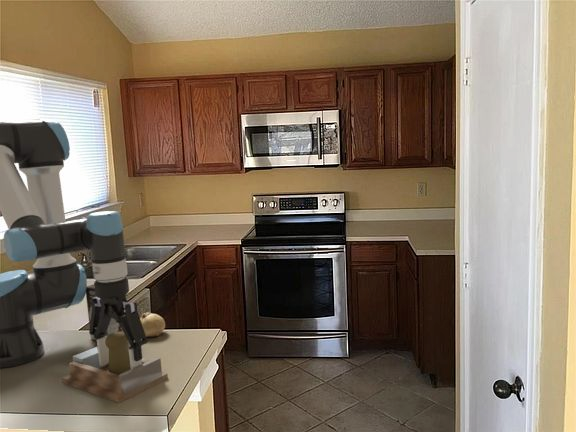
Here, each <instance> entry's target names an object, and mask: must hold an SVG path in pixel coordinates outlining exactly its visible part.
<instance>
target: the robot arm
mask: <svg viewBox="0 0 576 432" xmlns="http://www.w3.org/2000/svg"><path fill="white" fill-rule="evenodd" d="M70 147H71V146H70V142H69V138H68V135H67V133H66V131H65V129H64V127H63V126H62V124H61V123H60V122H58V121H57V120H54V119H43V118H39V119H38V118H37V119H36V118H35V119H20V120H19V119H17V120H16V119H14V120H12V119H11V120H9V119H8V120H7V119H5V120H3V119H1V120H0V214H1V216H2V219H4V221H5V224H6V227H7V230H5V232H4V235H3V245H4V249H5V253H6V256H7V258H8V259H9V261H12V262H15V263H18V262H26V261H34V260H36V261H35V262H34V263H33V264H32V271H33V272H32V273H28V272H27V271H26V270H25V269H16V270H9V271H6V272H2V273H0V369H1V368H2V367H4V368H10V367H16V366H19V365H22V364H26V363H29V362H32V361H34V360H36V359H38V358H39V357H40V358H41V356H42V355H43V354H44V353H45V347H44V342H43V341H42V339H41V337H40V335H39V333H38V331H37V329H36V327H35V324H34V316H36V315H40V314H44V313H48V312H52V311H58V310H62V309H68V308H70V307H72V306H75V305H79V304H81V302H83V301H84V298H86V297H85V296H86V288H87V285H88V284H87V283H88V282H87V280H88V279H87V274H86V271H85V268H84V267H83V266H82V264H78V263H77V259H76V258H75V257H73V256H72V255H71V253H77V252H83V251H88V250H89V251H90V261H91V265H92V273H93V274H92V275H93V279H94V280H95V281H94V282H93V284H94V287H95V295H96V297H95V298H92V299H91V301H92V313H91V321H90V326H89V329H88V330H89V332H88V333H89V335H90V336H91V335H94V337H95V339H96V340H95V341H96V347H97V349H98V355H99V363H100V366H103V365H105V364H108V363H109V349H108V348H107V346H106V344H105V340H106V337H107V336H105V335H108V334H107V329H108V326H109V324H110V321H111V318H113V319H115V320H116V322H117V323H119V324H120V326H121V328H122V330H123V332H124V334H125V336H126V338H127V340H128V344H129V345H130V346H129V347H128V352H129V358H130V367H131V369H133V368H135V367H137V366H139V365H142V358H143V352H142V351H143V349H142V346H144V345H147V344H148V339H147V337H146V335H145V332H144V329H143V326H142V323H141V320H140V318H141V317H140V314H139V312H138V304H137V302H136V301H133V302H129V301H128V300H127V294H129V291H130V285H129V278H128V277H127V275H128V274H129V273H128V265H127V257H126V251H125V240H124V239H125V238H124V231H123V230H124V225H123V222H122V217H121V216H122V215H121V213H119V212H118V211H117V210H116V211H115V210H111V211H110V210H107V211H104V210H103V211H97V212H96V211H95V212H92V213H89V214H88V215H87V216H84V217H77V218H74V219H73V220H67V221H66V215H65V207H64V202H63V201H64V200H63V194H62V193H63V192H62V185H61V184H62V183H61V176H60V171H61V170H62V169H63V168H64V167H65V164H64V163H65V161H66V160H67V159H69V158H70V153H71V152H70V151H71V150H70ZM16 164H18V169H17V166H16ZM19 172H21V173H23V175H24V174H25V175H24V176H25V177H26V184H27V185H26V184H25V182H24V179H23V177H22V176H21V174H20V173H19ZM95 327H96V328H95ZM94 328H95V329H94ZM104 336H105V337H104Z"/></svg>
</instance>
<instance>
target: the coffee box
mask: <svg viewBox="0 0 576 432" xmlns="http://www.w3.org/2000/svg"><path fill="white" fill-rule="evenodd" d="M85 296H86V297H85V298H86V305H87V316H88V324H89V327H90V321H91V313H92V301H91V299H92V298H95V297H96V295H95V287H94V283H93V284H90V285H88V286H87V288H86V294H85ZM95 328H96V327H95ZM95 328H94V329H95ZM114 332H123V330H122V328H121V326H120V324H119V323H117V322H116V320H115V319H113V318H111V321H110V324H109V326H108V329H107V334H108V335H109V334H111V333H114ZM108 335H105V336H108ZM105 336H104V337H105ZM90 340H95V341H96V339H95V337H94V335H90Z"/></svg>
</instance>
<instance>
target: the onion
mask: <svg viewBox="0 0 576 432" xmlns="http://www.w3.org/2000/svg"><path fill="white" fill-rule="evenodd" d="M140 320H141V323H142V326H143V329H144V332H145V335H146V338H147V337H159V336H160V335H161V334H162V333H163V331H164V330H165V327H166V322H165V319H164V318H163V317H162V316H160V315H159V314H157V313H152V312H149V311H147V312H145V313H142V314H141V317H140Z"/></svg>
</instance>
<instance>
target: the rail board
mask: <svg viewBox="0 0 576 432" xmlns="http://www.w3.org/2000/svg"><path fill="white" fill-rule="evenodd" d="M68 367H69V368H68V369H69V374H66V375H65V376H62V377H61V382H62V383H63V384H66V385H68V386H72V387H74V388H77V389H80V390H83V391H84V392H88V393H91V394H94V395H96V396H99V397H102V398H105V399H107V400H109V401H113V402H116V403H119V404H120V403H123V402H124V401H126V400H128V399H130V398H132V397H133V396H136V395H138V394H140V393H141V392H143V391H145V390H147V389H150V388H152V387H154V386H155V385H157V384H160V383H162V382H163V381H165V380H168V379H169V377H168V373H167V372H164V371H162V369H163V368H162V361H161V358H160V357H154V358H152V359H151V360H150V359H147V358H144V357H142V365H139V366H137V367H135V368H133V369H131V370H128V371H126V372H124V373H122V374H120V375H117V374H114V373H111V372H109V363H108V365H106V366H104V367H101V368H99V369H98V368H95V367H92V366H89V365H85V364H82V363H79V362H76V361H74V362H73V361H72V362H69V363H68Z"/></svg>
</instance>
